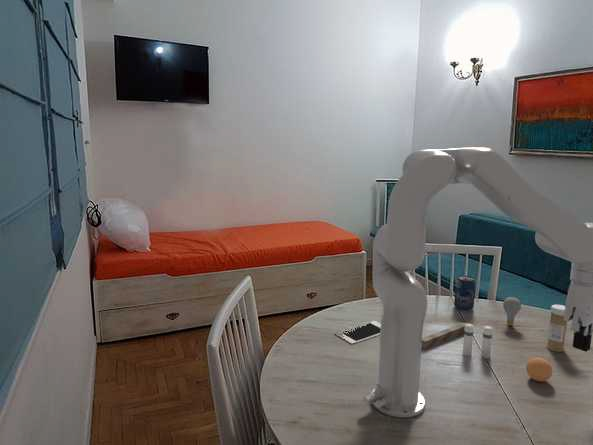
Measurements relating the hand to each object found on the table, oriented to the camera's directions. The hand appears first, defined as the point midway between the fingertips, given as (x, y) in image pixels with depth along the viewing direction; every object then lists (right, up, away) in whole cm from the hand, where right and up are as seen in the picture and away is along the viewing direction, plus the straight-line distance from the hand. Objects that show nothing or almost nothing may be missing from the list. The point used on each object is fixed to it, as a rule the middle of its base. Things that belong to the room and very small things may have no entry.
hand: (581, 348), depth 105 cm
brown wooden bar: (-22, -6, +33) cm, 40 cm away
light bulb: (+4, -5, +43) cm, 43 cm away
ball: (-5, -8, +9) cm, 13 cm away
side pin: (-19, -8, +23) cm, 31 cm away
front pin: (-14, -9, +21) cm, 27 cm away
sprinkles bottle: (+9, -8, +26) cm, 29 cm away
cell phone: (-47, -6, +37) cm, 60 cm away
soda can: (-6, -2, +57) cm, 58 cm away
